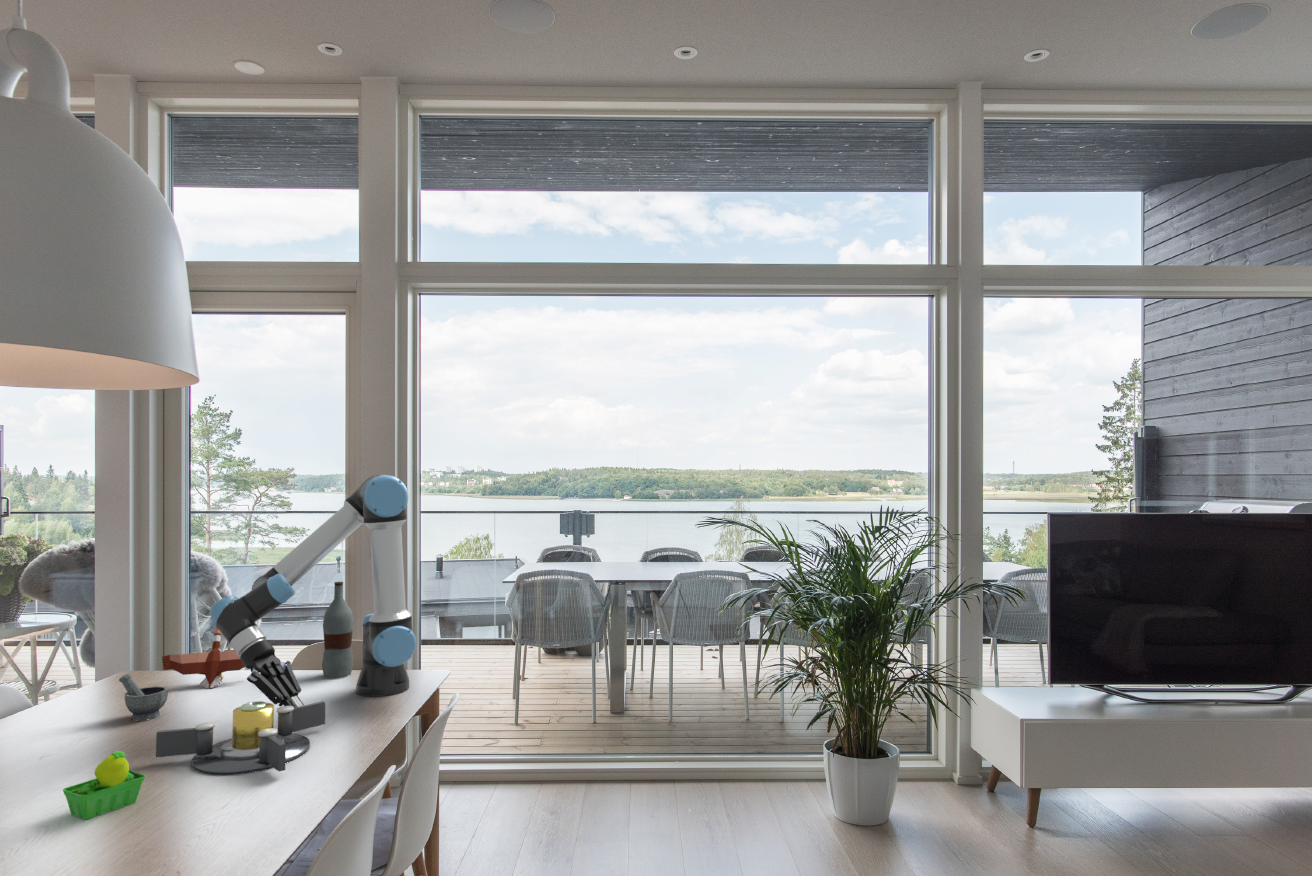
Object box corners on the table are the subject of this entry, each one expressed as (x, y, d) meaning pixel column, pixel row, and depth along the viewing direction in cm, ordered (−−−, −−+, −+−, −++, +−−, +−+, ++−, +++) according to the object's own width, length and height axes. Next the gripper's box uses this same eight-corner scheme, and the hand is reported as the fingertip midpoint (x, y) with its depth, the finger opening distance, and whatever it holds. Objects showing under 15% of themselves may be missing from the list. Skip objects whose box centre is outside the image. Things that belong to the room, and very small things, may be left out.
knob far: (216, 749, 173) (217, 721, 174) (211, 755, 170) (211, 726, 170) (160, 754, 170) (160, 726, 171) (153, 760, 167) (154, 731, 167)
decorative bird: (270, 659, 250) (268, 620, 246) (262, 694, 234) (260, 653, 229) (171, 667, 241) (168, 627, 236) (156, 704, 224) (151, 662, 220)
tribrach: (318, 732, 188) (318, 683, 189) (298, 768, 165) (299, 712, 166) (211, 741, 182) (212, 691, 183) (175, 780, 159) (176, 722, 159)
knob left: (255, 760, 166) (255, 731, 167) (273, 755, 169) (273, 727, 169) (272, 774, 158) (273, 744, 159) (291, 769, 161) (292, 739, 161)
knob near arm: (280, 738, 180) (280, 711, 181) (273, 734, 183) (274, 708, 183) (327, 725, 189) (327, 700, 189) (320, 722, 192) (320, 697, 192)
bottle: (350, 669, 249) (351, 579, 251) (355, 676, 242) (356, 582, 243) (319, 674, 245) (321, 581, 246) (324, 680, 237) (325, 584, 238)
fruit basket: (125, 793, 152) (126, 737, 153) (150, 802, 148) (151, 744, 149) (59, 816, 142) (61, 755, 143) (84, 826, 138) (86, 763, 139)
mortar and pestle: (171, 709, 208) (172, 666, 208) (163, 720, 199) (164, 674, 200) (122, 715, 203) (123, 670, 204) (112, 725, 195) (114, 678, 195)
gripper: (264, 652, 201) (314, 721, 196) (223, 663, 188) (275, 738, 183) (281, 633, 200) (332, 702, 194) (241, 643, 187) (294, 718, 182)
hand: (304, 720), depth 189 cm, fingers closed
